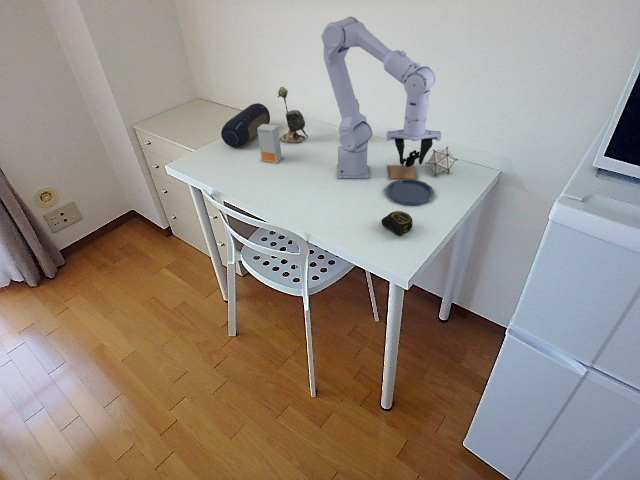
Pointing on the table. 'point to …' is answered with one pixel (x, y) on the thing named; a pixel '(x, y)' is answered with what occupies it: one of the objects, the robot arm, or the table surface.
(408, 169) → the cork coaster
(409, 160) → the wireless earbuds
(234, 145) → the portable speaker
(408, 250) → the table surface
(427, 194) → the plate
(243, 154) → the table surface
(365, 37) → the robot arm
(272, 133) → the cosmetic box
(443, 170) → the game die
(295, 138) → the plant with pod
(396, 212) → the tape measure
